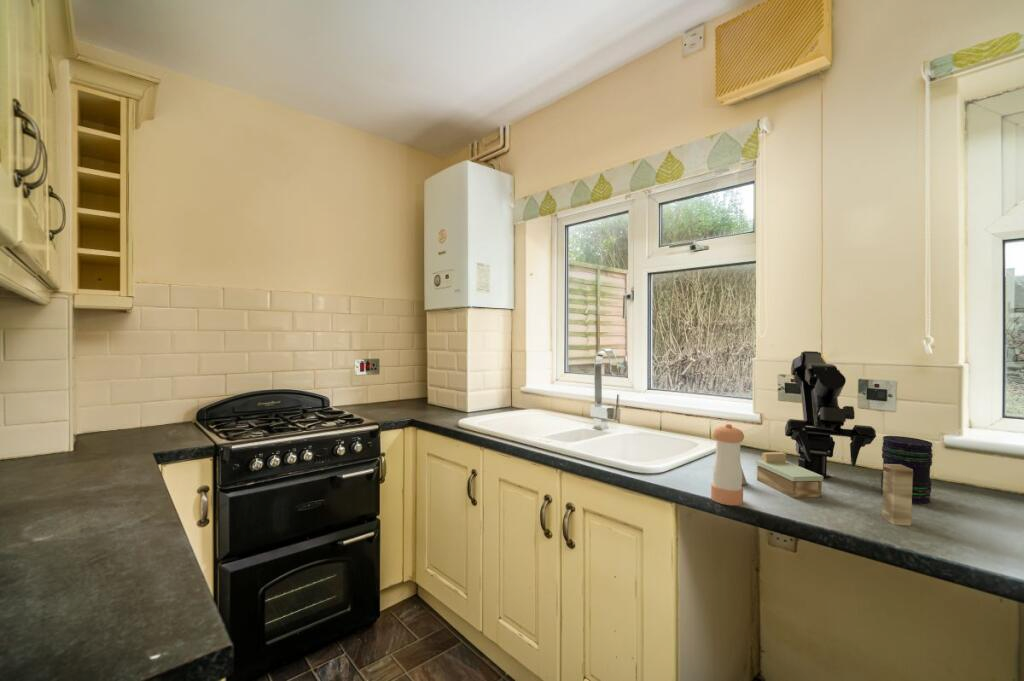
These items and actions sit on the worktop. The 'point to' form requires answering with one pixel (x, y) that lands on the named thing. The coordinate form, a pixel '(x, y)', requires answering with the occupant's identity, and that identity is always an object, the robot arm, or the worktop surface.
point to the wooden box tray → (789, 484)
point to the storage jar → (911, 463)
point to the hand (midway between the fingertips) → (831, 463)
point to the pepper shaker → (727, 466)
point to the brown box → (897, 494)
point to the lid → (786, 468)
